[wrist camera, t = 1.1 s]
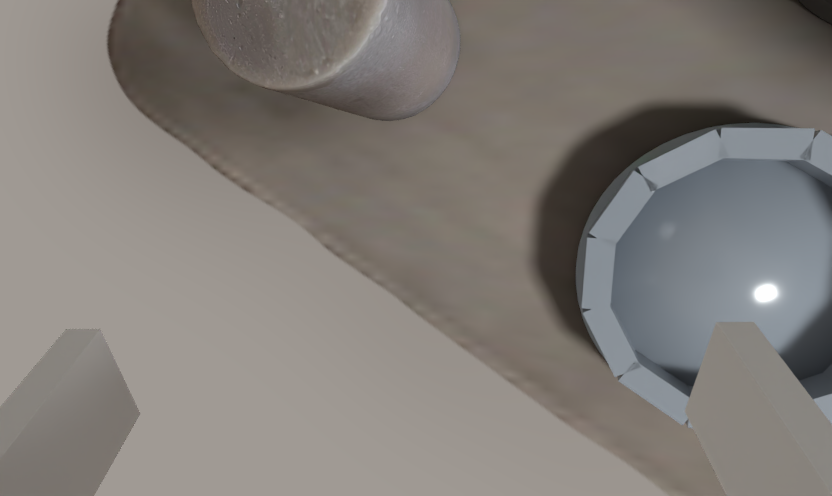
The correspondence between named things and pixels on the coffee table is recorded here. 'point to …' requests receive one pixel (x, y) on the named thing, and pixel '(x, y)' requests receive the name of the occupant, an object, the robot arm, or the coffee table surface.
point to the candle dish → (712, 258)
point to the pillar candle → (339, 50)
